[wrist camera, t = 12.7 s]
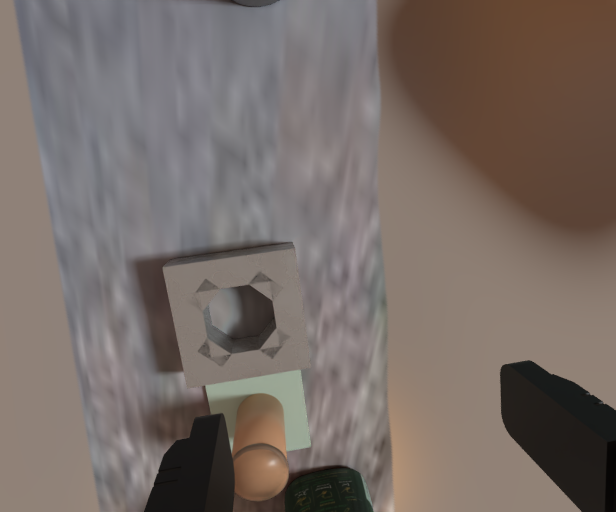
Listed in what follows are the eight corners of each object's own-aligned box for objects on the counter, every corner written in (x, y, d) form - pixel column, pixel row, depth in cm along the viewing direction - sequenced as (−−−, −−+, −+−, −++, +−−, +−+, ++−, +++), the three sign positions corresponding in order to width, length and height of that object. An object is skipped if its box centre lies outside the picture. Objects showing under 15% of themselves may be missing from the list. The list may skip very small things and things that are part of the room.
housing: (170, 259, 40) (162, 267, 36) (292, 242, 41) (295, 248, 37) (193, 371, 42) (187, 388, 39) (307, 352, 43) (311, 367, 40)
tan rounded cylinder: (231, 397, 43) (222, 454, 34) (280, 388, 43) (283, 442, 35) (240, 440, 44) (234, 506, 35) (288, 431, 44) (293, 494, 36)
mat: (204, 378, 43) (204, 380, 42) (299, 362, 43) (299, 364, 43) (220, 460, 45) (220, 463, 44) (310, 444, 46) (311, 446, 45)
